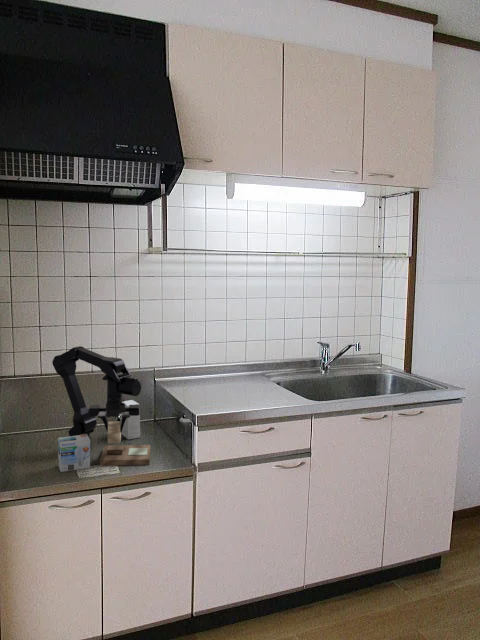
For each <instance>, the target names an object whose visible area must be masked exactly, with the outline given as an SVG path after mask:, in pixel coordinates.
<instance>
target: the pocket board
mask: <svg viewBox="0 0 480 640" xmlns="http://www.w3.org/2000/svg"><path fill="white" fill-rule="evenodd" d="M150 457H151V444H136V445H135V444H129V445H127V444H123V445H119V444H118V445H117V444H116V445H115V444H113V445H111V444H110V445H103V449H102V452H101V455H100V458H99V466H100V465H102V466H131V465H132V466H133V465H134V466H135V465H136V466H139V465H140V466H141V465H150V459H151V458H150Z"/></svg>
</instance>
